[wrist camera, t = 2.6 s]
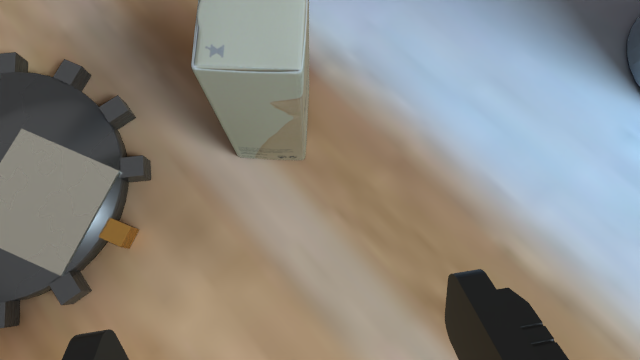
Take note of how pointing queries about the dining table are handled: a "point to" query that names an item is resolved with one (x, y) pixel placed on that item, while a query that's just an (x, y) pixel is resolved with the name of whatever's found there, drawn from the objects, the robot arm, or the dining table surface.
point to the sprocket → (58, 182)
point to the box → (256, 73)
